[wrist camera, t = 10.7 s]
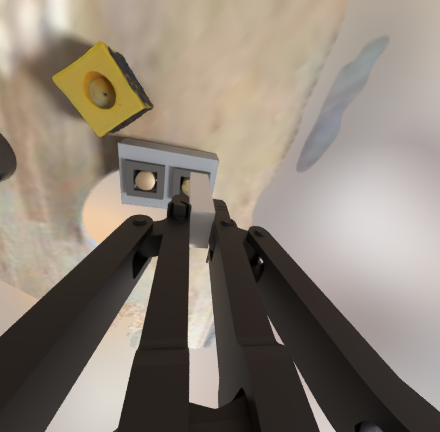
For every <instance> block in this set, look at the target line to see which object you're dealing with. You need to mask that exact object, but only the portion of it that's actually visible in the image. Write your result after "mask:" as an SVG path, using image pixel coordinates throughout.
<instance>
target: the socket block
mask: <svg viewBox="0 0 440 432" xmlns="http://www.w3.org/2000/svg"><path fill="white" fill-rule="evenodd" d="M118 154H119V169H120V183H121V199H122V204H129V205H139V206H146V207H155V208H164V209H167V208H168V203H169V202H170V201H171V200H172V197H173V196H174V195H183V196H188V195H186V194H184V192H183V191H182V185H181V184H180V183H181V176H183V177H190V175H191V172H195V173H201V174H207V175H208V177H209V182H210V188H211V193H212V194H213V189H214V184H215V179H216V174H217V169H218V164H219V159H218V157H217V154H213V153H208V152H203V151H197V150H192V149H186V148H181V147H175V146H170V145H164V144H159V143H153V142H148V141H142V140H137V139H131V138H125V139H123V140H122V141H120V142H118ZM141 170H144V171H150V172H157V181H156V182H155V184H154V187H153V188H152V189H150V190H143V189H141V188H139V187H138V186H137V184H136V182H135V179H136V176H137V175H138V174H139V172H140V171H141Z"/></svg>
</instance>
